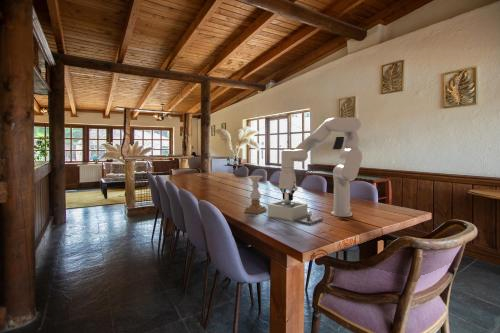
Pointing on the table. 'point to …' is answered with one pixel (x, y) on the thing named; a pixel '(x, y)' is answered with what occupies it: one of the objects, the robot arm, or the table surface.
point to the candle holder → (255, 197)
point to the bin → (286, 211)
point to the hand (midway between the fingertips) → (287, 199)
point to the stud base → (308, 219)
